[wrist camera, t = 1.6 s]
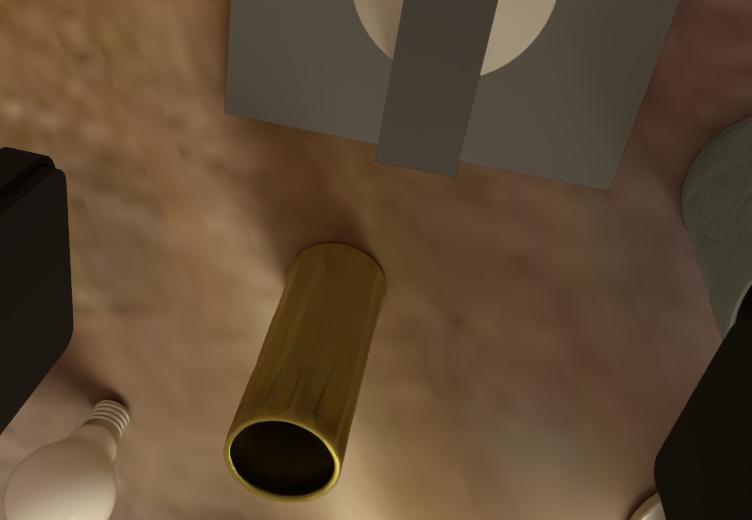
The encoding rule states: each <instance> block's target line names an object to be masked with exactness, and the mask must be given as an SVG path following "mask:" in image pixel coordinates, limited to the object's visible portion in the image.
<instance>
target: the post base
mask: <svg viewBox="0 0 752 520" xmlns="http://www.w3.org/2000/svg"><path fill="white" fill-rule="evenodd" d="M679 2H680V0H556V2H555V5H554V8H553V10H552V12H551V14H550V16H549V18H548V20H547V22H546V24H545V26H544V27H543V29H542V30H541V32H540V33H539V35H538V36H537V37H536V38H535V39H534V41H533V42H532V43H531V44H530V45H529V46H528V47H527V48H526V49H525V50H524V51H523V52H522V53H521V54H520V55H519V56H517V57H516V58H514V59H513V60H512V61H510V62H509V63H507V64H506V65H504V66H502V67H500V68H498V69H497V70H494V71H492V72H489V73H487V74H484V75H480V78H479V82H478V86H477V90H476V94H475V98H474V102H473V106H472V110H471V114H470V119H469V123H468V127H467V131H466V135H465V139H464V143H463V147H462V151H461V155H460V160H459V161H462V162H467V163H472V164H477V165H482V166H487V167H492V168H497V169H501V170H506V171H511V172H516V173H521V174H526V175H531V176H536V177H541V178H546V179H551V180H556V181H561V182H566V183H571V184H576V185H581V186H586V187H591V188H596V189H600V190H605V191H609V190H610V187H611V185H612V182H613V179H614V176H615V174H616V171H617V168H618V166H619V163H620V160H621V158H622V155H623V152H624V150H625V147H626V144H627V142H628V139H629V136H630V133H631V131H632V128H633V125H634V123H635V120H636V117H637V115H638V112H639V109H640V107H641V104H642V101H643V99H644V96H645V93H646V90H647V88H648V85H649V82H650V80H651V77H652V74H653V72H654V69H655V66H656V64H657V61H658V58H659V56H660V53H661V50H662V47H663V45H664V42H665V39H666V37H667V34H668V31H669V29H670V26H671V23H672V21H673V18H674V15H675V13H676V10H677V7H678V5H679ZM392 62H393V60H392V59H391V58H390V57H388V56H387V55H386V54H385V53H384V52H383V51H382V50H381V49H380V48H379V47H378V46H377V45H376V43H375V42H374V41H373V40H372V38H371V37H370V36H369V34H368V33H367V31H366V29H365V28H364V26H363V24H362V22H361V20H360V17H359V15H358V13H357V10H356V7H355V4H354V0H231V5H230V23H229V41H228V59H227V77H226V95H225V113H224V114H229V115H234V116H239V117H244V118H249V119H254V120H259V121H264V122H269V123H274V124H279V125H284V126H289V127H294V128H299V129H304V130H308V131H313V132H318V133H323V134H328V135H333V136H338V137H343V138H348V139H353V140H358V141H363V142H368V143H373V144H378V141H379V135H380V129H381V124H382V118H383V112H384V107H385V101H386V95H387V90H388V84H389V79H390V73H391V67H392Z"/></svg>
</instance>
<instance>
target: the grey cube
mask: <svg viewBox="0 0 752 520" xmlns="http://www.w3.org/2000/svg"><path fill="white" fill-rule="evenodd" d="M555 2H556V0H354V4H355V7H356V10H357V13H358V15H359V17H360V20H361V22H362V24H363V26H364V28H365V29H366V31H367V33H368V34H369V36H370V37H371V38H372V40H373V41H374V42H375V43H376V45H377V46H378V47H379V48H380V49H381V50H382V51H383V52H384V53H385V54H386V55H387V56H388V57H390V58H391V59H392V60H393V62H392V67H391V73H390V79H389V84H388V90H387V95H386V101H385V107H384V112H383V118H382V124H381V129H380V135H379V141H378V146H377V152H376V158H375V162H380V163H385V164H389V165H394V166H399V167H404V168H409V169H414V170H419V171H424V172H429V173H434V174H439V175H444V176H449V177H454V178H455V176H456V172H457V168H458V164H459V160H460V155H461V151H462V147H463V143H464V139H465V135H466V131H467V127H468V123H469V119H470V114H471V110H472V106H473V102H474V98H475V94H476V90H477V86H478V82H479V78H480V75H484V74H487V73H489V72H492V71H494V70H497V69H498V68H500V67H502V66H504V65H506V64H507V63H509V62H510V61H512V60H513V59H514V58H516V57H517V56H519V55H520V54H521V53H522V52H523V51H524V50H525V49H526V48H527V47H528V46H529V45H530V44H531V43H532V42H533V41H534V39H535V38H536V37H537V36H538V35H539V33H540V32H541V30H542V29H543V27H544V26H545V24H546V22H547V20H548V18H549V16H550V14H551V12H552V10H553V8H554V5H555Z"/></svg>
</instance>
